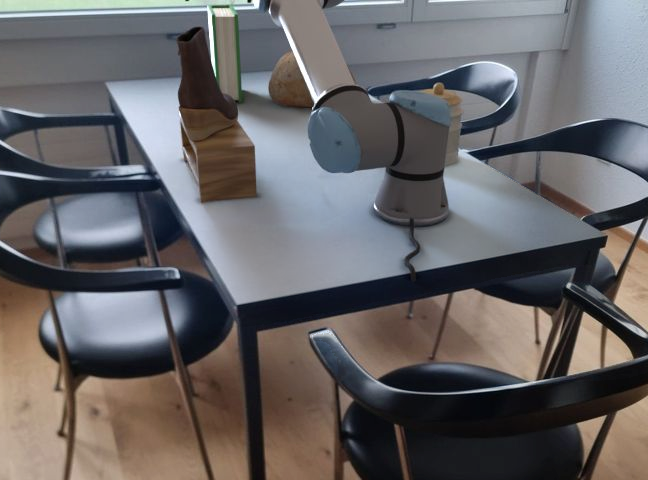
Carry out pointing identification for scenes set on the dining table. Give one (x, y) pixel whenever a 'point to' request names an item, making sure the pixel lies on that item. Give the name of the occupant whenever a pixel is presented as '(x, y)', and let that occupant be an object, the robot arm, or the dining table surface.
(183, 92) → the boot
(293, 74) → the bread
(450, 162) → the jar
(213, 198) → the shoe rack
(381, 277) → the dining table surface
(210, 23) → the hardback book
